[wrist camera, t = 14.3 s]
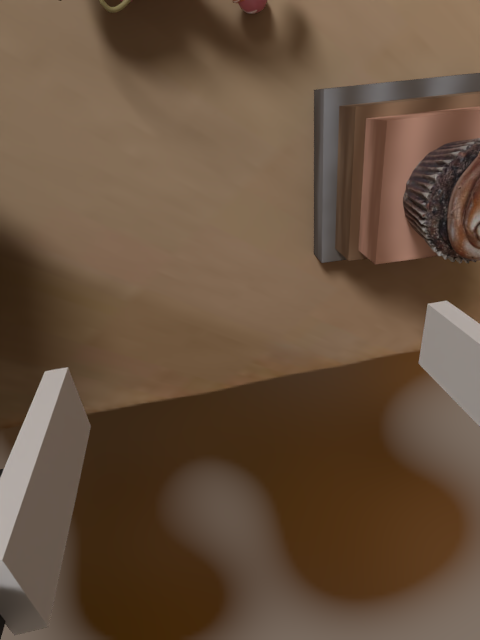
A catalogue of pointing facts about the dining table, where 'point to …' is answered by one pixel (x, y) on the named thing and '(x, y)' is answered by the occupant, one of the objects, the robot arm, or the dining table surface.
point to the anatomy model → (250, 3)
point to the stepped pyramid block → (381, 160)
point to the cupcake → (447, 200)
